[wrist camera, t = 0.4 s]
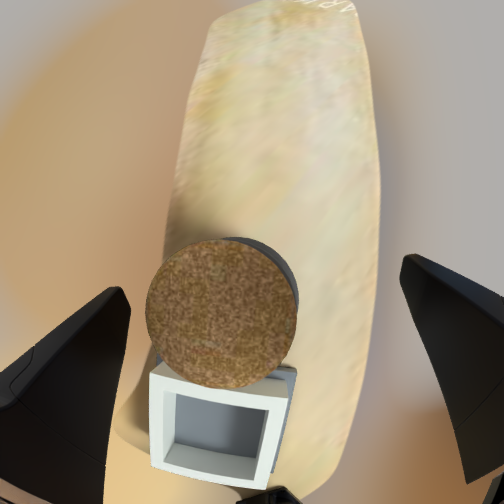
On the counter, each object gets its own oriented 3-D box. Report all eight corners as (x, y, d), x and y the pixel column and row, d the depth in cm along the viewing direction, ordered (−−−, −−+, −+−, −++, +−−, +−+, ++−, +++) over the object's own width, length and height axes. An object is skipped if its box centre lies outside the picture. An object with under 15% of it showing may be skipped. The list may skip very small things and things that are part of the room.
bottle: (297, 266, 23) (347, 266, 8) (268, 331, 23) (266, 430, 8) (232, 238, 23) (169, 191, 8) (204, 302, 23) (109, 354, 8)
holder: (272, 467, 22) (272, 495, 17) (158, 445, 23) (143, 469, 18) (296, 368, 22) (301, 389, 18) (161, 345, 23) (140, 360, 19)
